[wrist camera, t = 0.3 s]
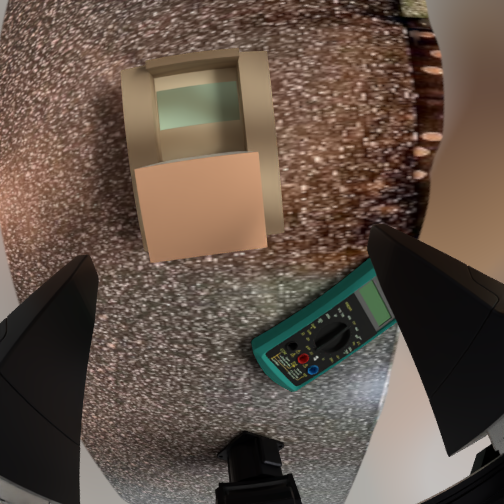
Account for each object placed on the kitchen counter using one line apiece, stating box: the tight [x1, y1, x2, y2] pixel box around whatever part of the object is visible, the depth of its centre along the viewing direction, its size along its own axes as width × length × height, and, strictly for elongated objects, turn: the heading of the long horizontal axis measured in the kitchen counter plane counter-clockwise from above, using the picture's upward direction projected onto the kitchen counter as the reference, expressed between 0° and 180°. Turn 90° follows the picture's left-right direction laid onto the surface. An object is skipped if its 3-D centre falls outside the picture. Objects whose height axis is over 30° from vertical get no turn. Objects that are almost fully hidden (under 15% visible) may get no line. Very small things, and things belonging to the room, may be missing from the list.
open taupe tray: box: [121, 48, 284, 251], centre depth 21 cm, size 13×10×4 cm
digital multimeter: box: [251, 258, 397, 392], centre depth 29 cm, size 7×15×3 cm, turn 125°
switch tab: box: [134, 151, 267, 263], centre depth 17 cm, size 4×5×10 cm
